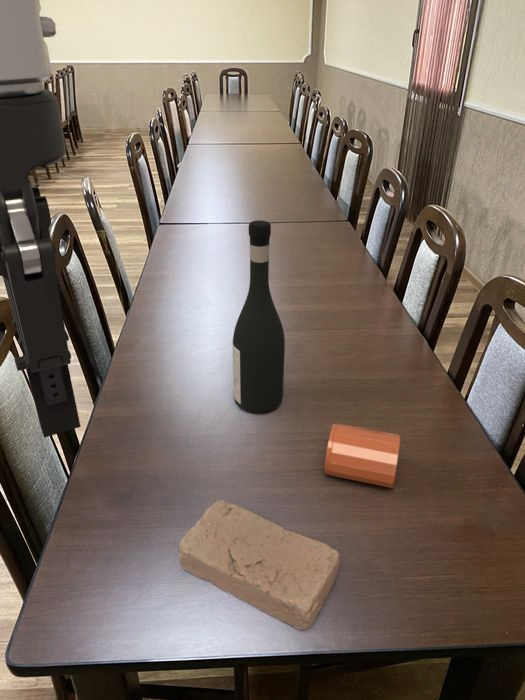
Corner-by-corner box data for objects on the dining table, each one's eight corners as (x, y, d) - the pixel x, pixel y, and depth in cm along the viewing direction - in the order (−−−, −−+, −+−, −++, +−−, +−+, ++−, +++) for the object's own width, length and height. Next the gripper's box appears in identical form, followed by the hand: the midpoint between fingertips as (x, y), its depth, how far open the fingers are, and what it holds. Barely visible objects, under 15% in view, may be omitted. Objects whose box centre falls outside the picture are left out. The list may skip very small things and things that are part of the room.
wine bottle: (226, 410, 86) (221, 228, 71) (243, 383, 93) (242, 211, 77) (274, 420, 84) (279, 235, 69) (288, 392, 90) (296, 217, 75)
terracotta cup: (322, 473, 69) (393, 487, 67) (332, 419, 71) (401, 432, 69) (326, 475, 76) (391, 488, 74) (335, 426, 77) (398, 438, 75)
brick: (175, 568, 61) (172, 541, 58) (217, 518, 67) (215, 491, 65) (307, 640, 54) (310, 613, 52) (339, 577, 60) (343, 549, 58)
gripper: (80, 97, 26) (133, 462, 38) (35, 76, 36) (89, 373, 48) (-100, 104, 23) (21, 500, 35) (-96, 79, 33) (-2, 396, 45)
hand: (60, 426), depth 41 cm, fingers closed
